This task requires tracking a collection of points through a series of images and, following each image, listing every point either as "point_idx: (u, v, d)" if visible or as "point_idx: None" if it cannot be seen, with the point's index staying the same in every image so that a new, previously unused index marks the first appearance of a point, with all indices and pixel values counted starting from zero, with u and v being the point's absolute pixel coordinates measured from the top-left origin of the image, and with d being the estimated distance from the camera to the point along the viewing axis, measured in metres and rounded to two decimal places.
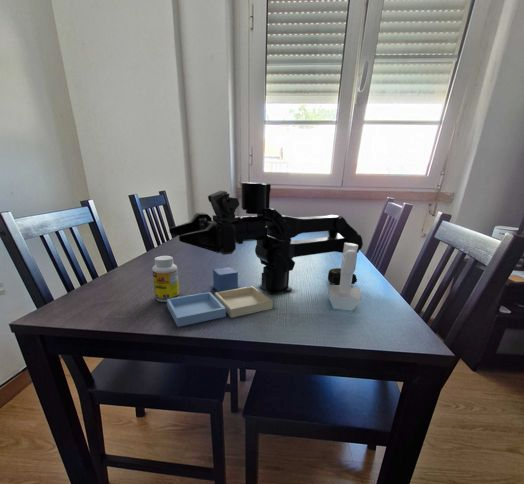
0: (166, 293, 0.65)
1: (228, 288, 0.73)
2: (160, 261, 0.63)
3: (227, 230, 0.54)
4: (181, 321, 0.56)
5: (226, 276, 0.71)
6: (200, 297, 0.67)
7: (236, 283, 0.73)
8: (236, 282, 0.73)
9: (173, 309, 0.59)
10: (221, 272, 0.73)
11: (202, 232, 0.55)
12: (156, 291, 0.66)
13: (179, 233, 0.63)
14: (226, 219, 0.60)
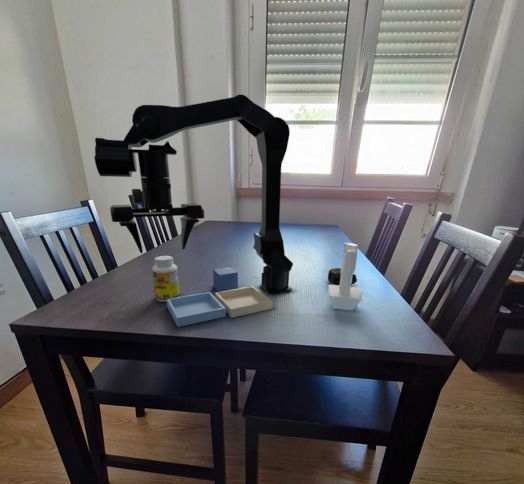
0: (166, 293, 0.65)
1: (228, 288, 0.73)
2: (160, 261, 0.63)
3: None
4: (181, 321, 0.56)
5: (226, 276, 0.71)
6: (200, 297, 0.67)
7: (236, 283, 0.73)
8: (236, 282, 0.73)
9: (173, 309, 0.59)
10: (221, 272, 0.73)
11: None
12: (156, 291, 0.66)
13: (182, 240, 0.65)
14: (141, 201, 0.61)
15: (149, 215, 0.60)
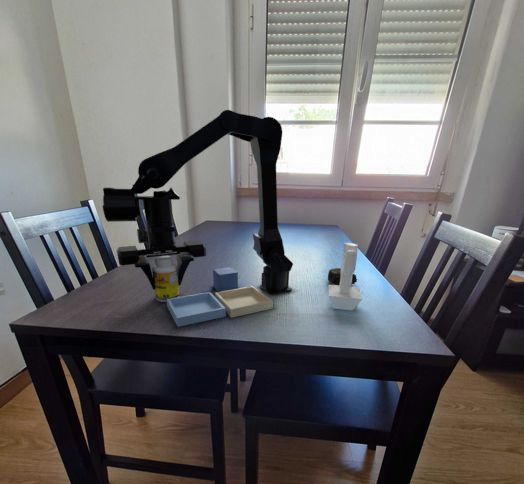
0: (166, 293, 0.65)
1: (228, 288, 0.73)
2: (160, 261, 0.63)
3: None
4: (181, 321, 0.56)
5: (226, 276, 0.71)
6: (200, 297, 0.67)
7: (236, 283, 0.73)
8: (236, 282, 0.73)
9: (173, 309, 0.59)
10: (221, 272, 0.73)
11: None
12: (156, 291, 0.66)
13: (178, 277, 0.67)
14: (146, 241, 0.65)
15: (161, 254, 0.64)
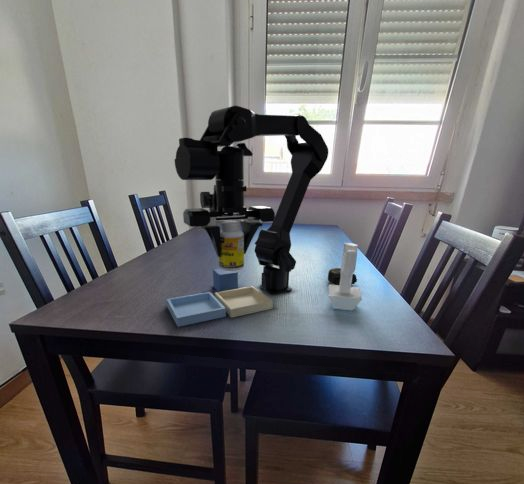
0: (233, 261, 0.60)
1: (228, 288, 0.73)
2: (229, 225, 0.58)
3: (184, 218, 0.57)
4: (181, 321, 0.56)
5: (226, 276, 0.71)
6: (200, 297, 0.67)
7: (236, 283, 0.73)
8: (236, 282, 0.73)
9: (173, 309, 0.59)
10: (221, 272, 0.73)
11: (209, 236, 0.60)
12: (222, 259, 0.61)
13: (244, 245, 0.62)
14: (212, 204, 0.60)
15: (229, 218, 0.59)
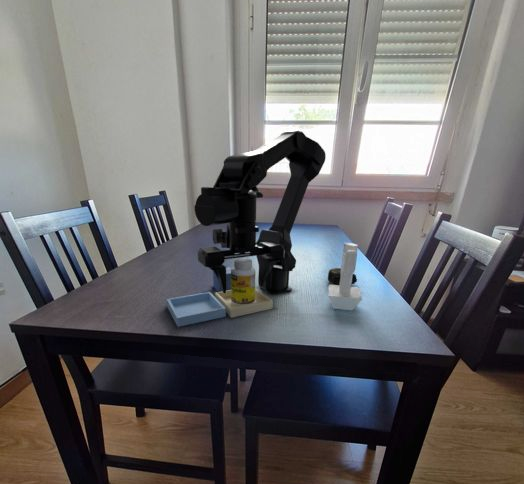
0: (245, 297, 0.63)
1: (228, 288, 0.73)
2: (241, 264, 0.61)
3: (198, 257, 0.59)
4: (181, 321, 0.56)
5: (226, 276, 0.71)
6: (200, 297, 0.67)
7: None
8: None
9: (173, 309, 0.59)
10: None
11: (215, 274, 0.62)
12: (234, 295, 0.63)
13: (261, 278, 0.66)
14: (225, 242, 0.62)
15: (234, 257, 0.61)
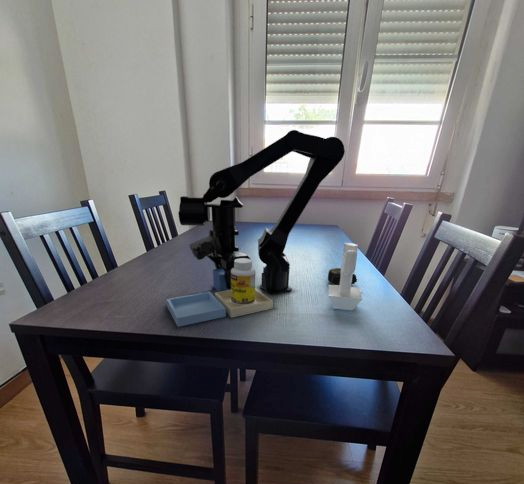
0: (245, 297, 0.63)
1: None
2: (242, 264, 0.61)
3: (232, 265, 0.64)
4: (181, 321, 0.56)
5: None
6: (200, 297, 0.67)
7: None
8: None
9: (173, 309, 0.59)
10: (221, 272, 0.73)
11: (227, 275, 0.70)
12: (234, 295, 0.63)
13: None
14: (217, 249, 0.67)
15: None
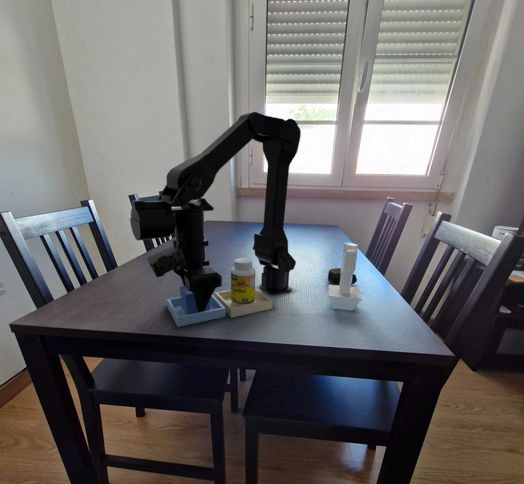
0: (245, 297, 0.63)
1: None
2: (242, 264, 0.61)
3: (197, 286, 0.50)
4: (181, 321, 0.56)
5: None
6: None
7: (207, 304, 0.60)
8: (208, 302, 0.60)
9: (173, 309, 0.59)
10: None
11: (196, 297, 0.55)
12: (234, 295, 0.63)
13: None
14: (181, 264, 0.54)
15: None
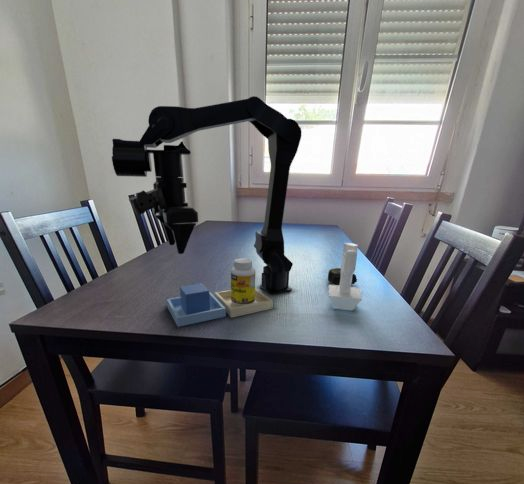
0: (245, 297, 0.63)
1: (197, 310, 0.60)
2: (242, 264, 0.61)
3: (174, 219, 0.54)
4: (181, 321, 0.56)
5: (194, 296, 0.58)
6: None
7: (207, 304, 0.60)
8: (208, 302, 0.60)
9: (173, 309, 0.59)
10: (189, 290, 0.59)
11: (175, 235, 0.59)
12: (234, 295, 0.63)
13: (174, 236, 0.69)
14: (160, 203, 0.58)
15: None
